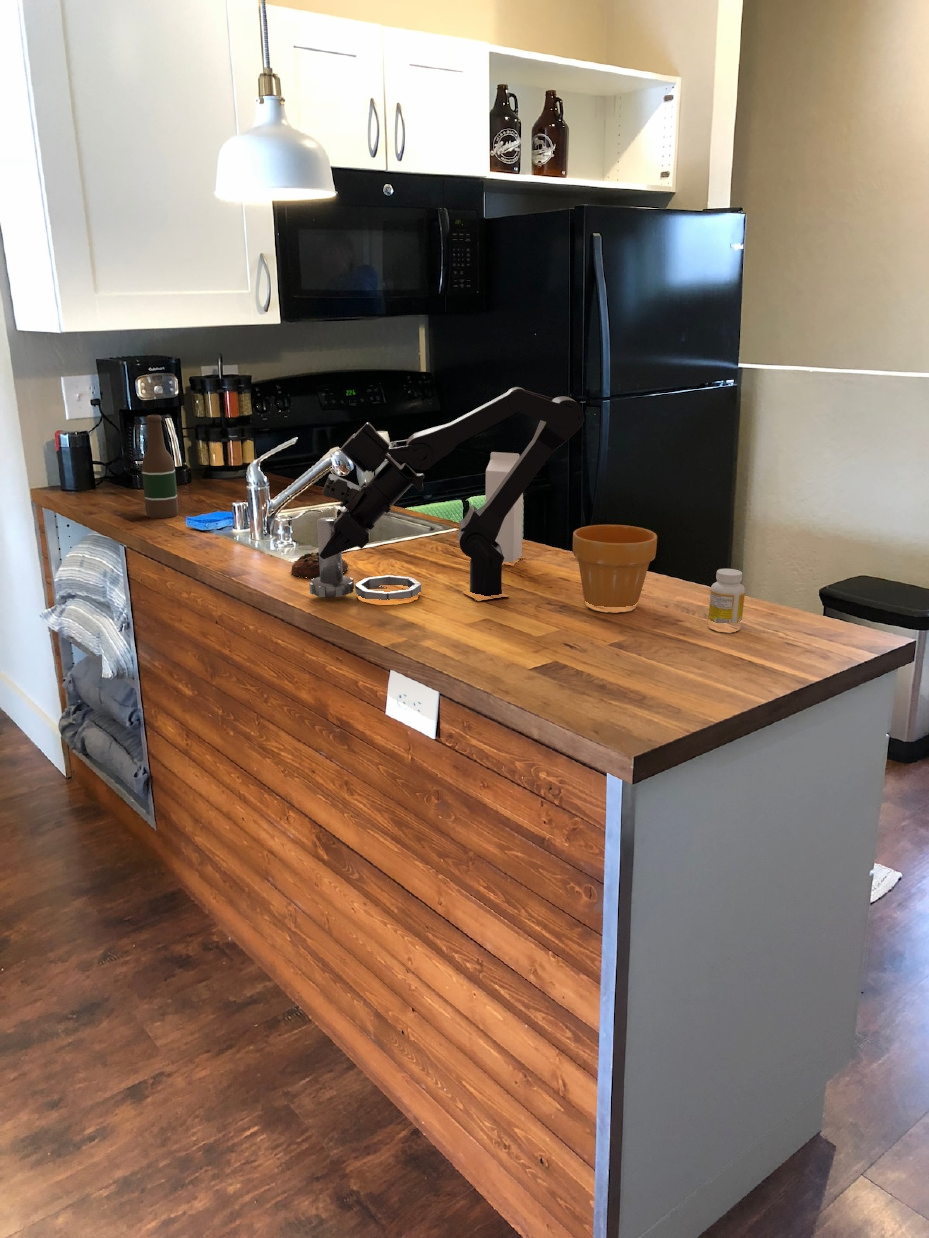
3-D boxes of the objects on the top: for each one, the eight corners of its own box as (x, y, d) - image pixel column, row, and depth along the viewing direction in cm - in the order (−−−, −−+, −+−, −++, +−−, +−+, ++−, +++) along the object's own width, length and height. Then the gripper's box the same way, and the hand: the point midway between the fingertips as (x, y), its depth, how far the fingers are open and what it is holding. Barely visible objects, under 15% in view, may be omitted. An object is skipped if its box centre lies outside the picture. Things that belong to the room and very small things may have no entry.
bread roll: (309, 583, 189) (307, 556, 188) (280, 578, 198) (278, 553, 197) (359, 575, 196) (357, 549, 195) (329, 571, 205) (327, 546, 204)
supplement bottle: (718, 635, 161) (723, 577, 158) (701, 625, 166) (705, 568, 163) (748, 632, 163) (753, 574, 160) (730, 622, 167) (735, 566, 164)
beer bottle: (139, 517, 243) (129, 416, 236) (157, 511, 250) (148, 413, 243) (167, 519, 241) (158, 418, 234) (185, 513, 248) (177, 414, 241)
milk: (513, 566, 201) (515, 456, 194) (484, 563, 203) (485, 454, 196) (521, 559, 206) (524, 451, 199) (493, 556, 208) (495, 449, 201)
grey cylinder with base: (360, 594, 178) (357, 522, 174) (317, 599, 175) (313, 526, 171) (345, 583, 185) (342, 513, 181) (304, 588, 182) (300, 517, 178)
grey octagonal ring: (429, 600, 179) (429, 588, 178) (369, 608, 174) (369, 596, 173) (405, 584, 188) (405, 573, 187) (348, 592, 184) (348, 579, 183)
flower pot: (656, 598, 180) (661, 527, 176) (648, 622, 167) (653, 546, 163) (577, 592, 184) (580, 522, 180) (564, 615, 171) (566, 540, 167)
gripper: (351, 450, 182) (293, 512, 184) (345, 468, 164) (281, 535, 167) (396, 493, 184) (338, 552, 187) (395, 514, 167) (331, 580, 170)
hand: (322, 554), depth 178 cm, fingers closed on grey cylinder with base, 4 cm apart
